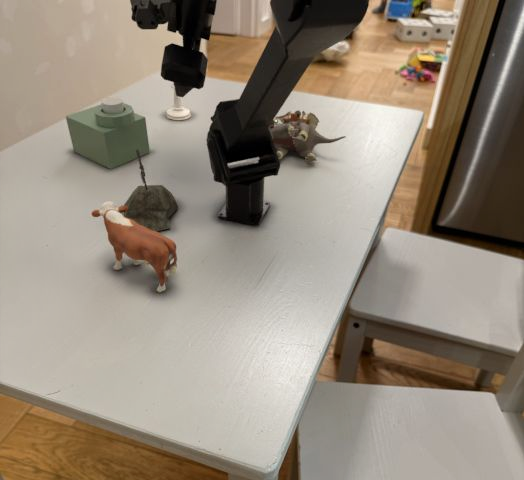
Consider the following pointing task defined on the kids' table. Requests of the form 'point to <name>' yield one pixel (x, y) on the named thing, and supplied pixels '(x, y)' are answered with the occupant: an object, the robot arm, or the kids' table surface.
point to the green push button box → (108, 135)
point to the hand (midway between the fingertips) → (183, 73)
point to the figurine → (297, 134)
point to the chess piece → (178, 109)
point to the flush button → (112, 105)
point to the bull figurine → (138, 242)
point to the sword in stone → (150, 204)
